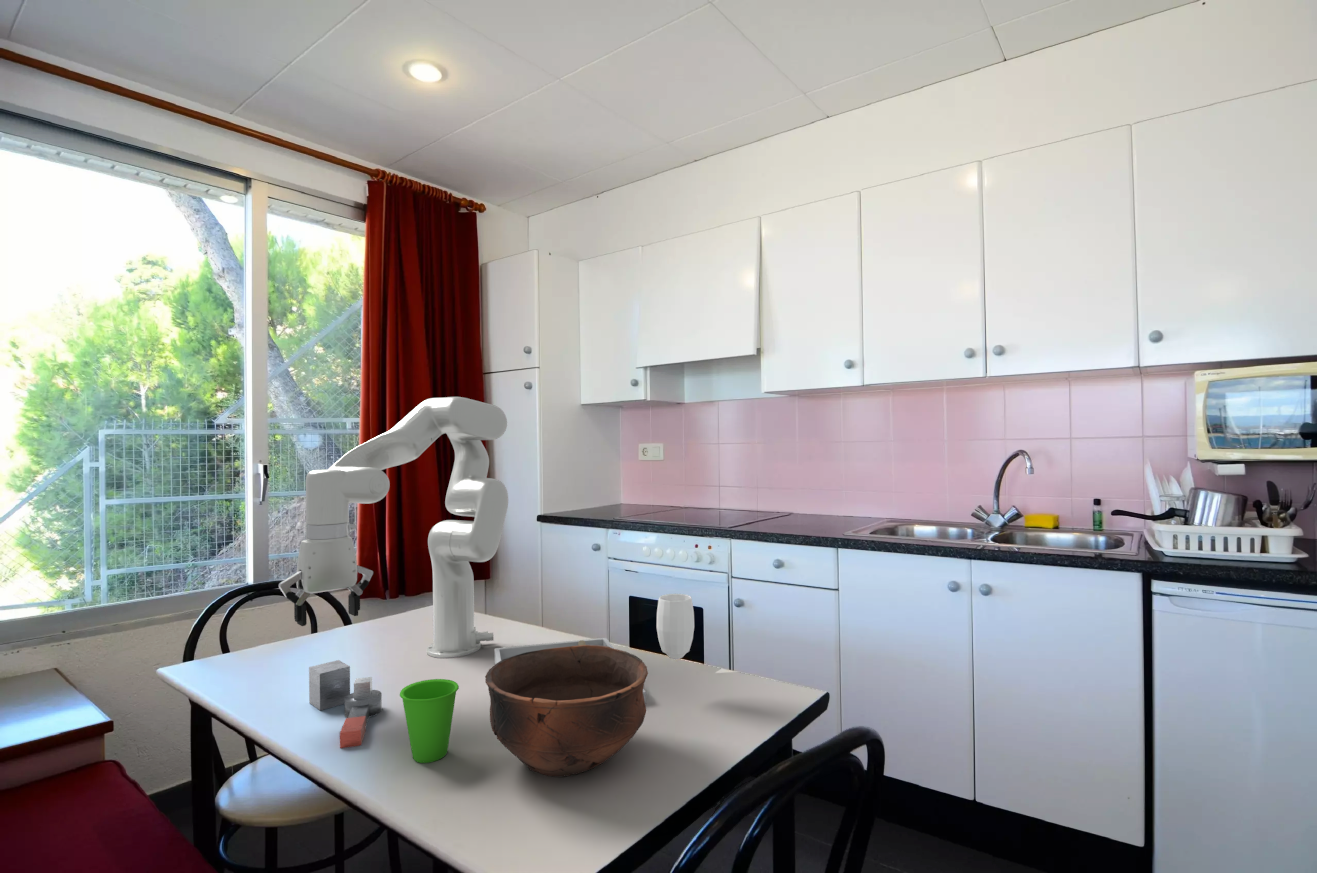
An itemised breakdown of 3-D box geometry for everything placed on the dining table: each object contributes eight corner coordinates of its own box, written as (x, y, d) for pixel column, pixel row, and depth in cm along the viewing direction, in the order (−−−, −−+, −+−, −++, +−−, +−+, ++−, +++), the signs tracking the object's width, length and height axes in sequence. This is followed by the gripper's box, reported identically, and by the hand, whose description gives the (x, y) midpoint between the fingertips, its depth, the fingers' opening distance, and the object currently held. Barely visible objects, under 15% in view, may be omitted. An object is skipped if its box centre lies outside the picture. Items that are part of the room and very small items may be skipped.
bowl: (503, 824, 89) (501, 710, 89) (475, 746, 111) (474, 655, 111) (673, 783, 99) (672, 681, 99) (616, 719, 121) (615, 636, 121)
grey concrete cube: (339, 694, 135) (338, 660, 135) (350, 702, 131) (349, 666, 131) (309, 702, 131) (309, 667, 131) (320, 710, 127) (319, 673, 127)
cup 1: (425, 776, 101) (425, 704, 101) (388, 761, 106) (387, 692, 106) (471, 752, 109) (470, 685, 109) (434, 739, 114) (433, 675, 114)
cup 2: (697, 713, 123) (696, 601, 123) (658, 715, 123) (657, 602, 123) (693, 698, 131) (692, 592, 131) (656, 699, 130) (655, 593, 130)
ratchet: (347, 707, 128) (347, 676, 128) (383, 703, 130) (383, 672, 130) (329, 749, 111) (329, 713, 111) (371, 744, 113) (370, 708, 113)
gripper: (364, 526, 140) (364, 608, 140) (272, 535, 127) (273, 625, 127) (379, 529, 135) (380, 614, 134) (285, 539, 122) (286, 632, 122)
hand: (328, 619), depth 131 cm, fingers open, 9 cm apart
